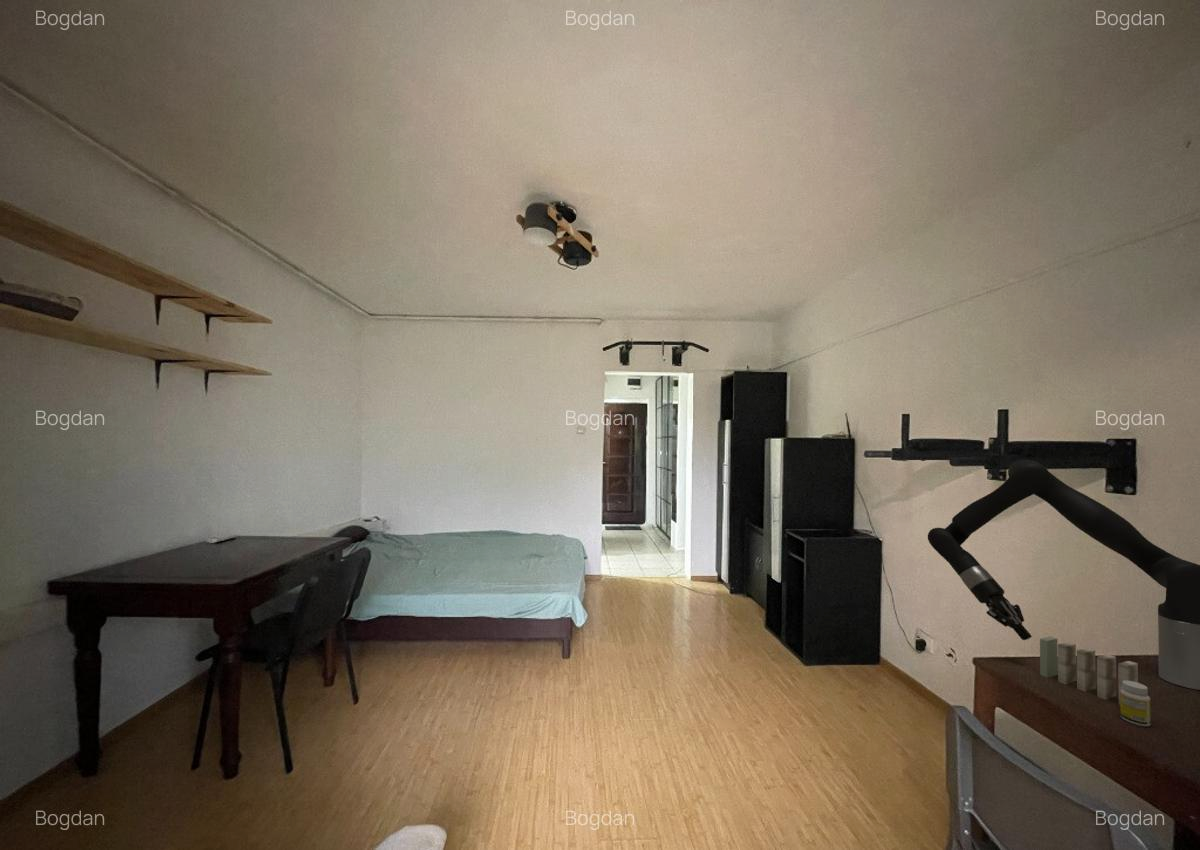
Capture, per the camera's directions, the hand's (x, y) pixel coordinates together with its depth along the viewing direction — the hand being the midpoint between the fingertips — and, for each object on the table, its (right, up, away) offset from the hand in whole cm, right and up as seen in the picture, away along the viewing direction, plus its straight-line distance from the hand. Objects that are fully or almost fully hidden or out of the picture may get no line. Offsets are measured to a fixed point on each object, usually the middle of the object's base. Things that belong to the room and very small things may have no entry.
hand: (1027, 638), depth 140 cm
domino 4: (+6, -8, -16) cm, 19 cm away
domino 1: (+1, -8, -5) cm, 9 cm away
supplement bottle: (+1, -7, -27) cm, 28 cm away
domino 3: (+4, -8, -12) cm, 15 cm away
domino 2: (+3, -8, -9) cm, 12 cm away
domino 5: (+7, -8, -20) cm, 22 cm away
